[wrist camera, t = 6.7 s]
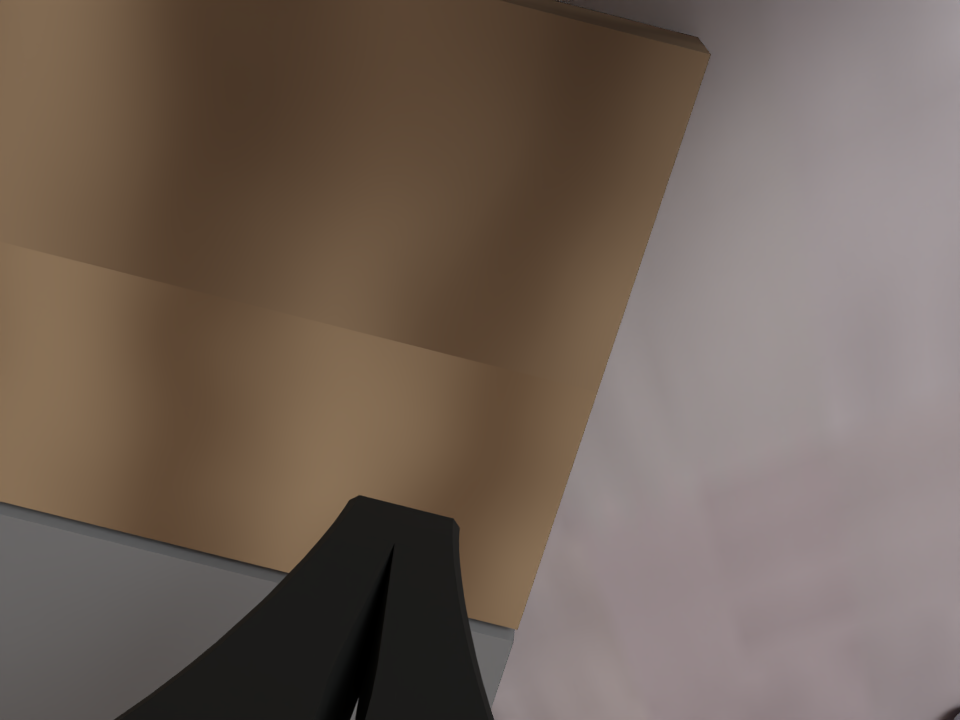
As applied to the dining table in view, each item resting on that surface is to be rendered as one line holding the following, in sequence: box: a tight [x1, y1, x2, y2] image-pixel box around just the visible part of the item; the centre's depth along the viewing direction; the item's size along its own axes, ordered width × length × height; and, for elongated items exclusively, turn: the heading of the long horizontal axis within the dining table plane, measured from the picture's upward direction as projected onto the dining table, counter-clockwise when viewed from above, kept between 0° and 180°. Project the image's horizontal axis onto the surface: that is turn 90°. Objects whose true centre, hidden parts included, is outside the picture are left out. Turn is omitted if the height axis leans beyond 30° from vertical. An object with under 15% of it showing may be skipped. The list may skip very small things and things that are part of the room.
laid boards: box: [0, 0, 711, 630], centre depth 19 cm, size 16×14×2 cm
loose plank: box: [0, 501, 515, 720], centre depth 25 cm, size 16×12×2 cm
